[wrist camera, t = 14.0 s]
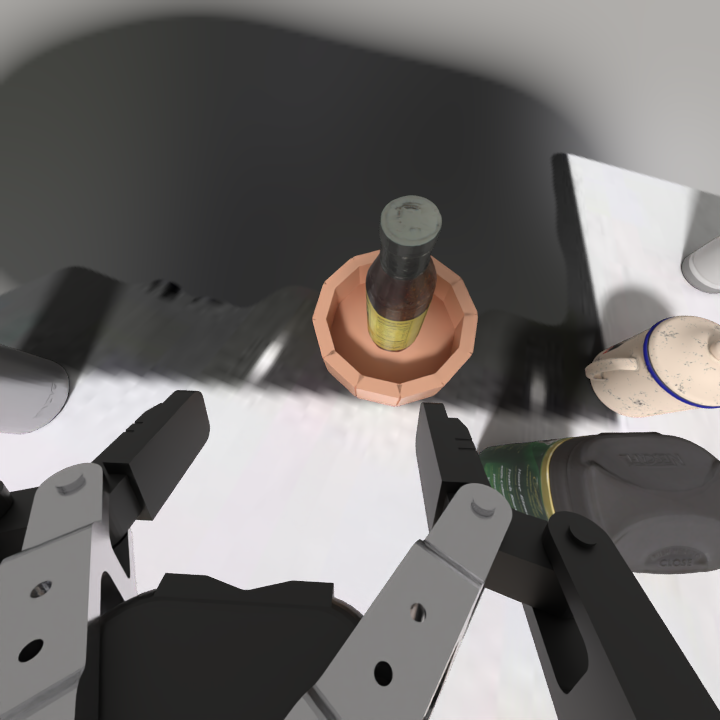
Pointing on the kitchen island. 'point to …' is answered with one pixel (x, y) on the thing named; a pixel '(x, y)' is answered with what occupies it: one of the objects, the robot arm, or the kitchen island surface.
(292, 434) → the kitchen island surface
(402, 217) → the sauce bottle
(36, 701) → the robot arm
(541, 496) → the coffee jar
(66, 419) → the kitchen island surface
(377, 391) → the terracotta bowl
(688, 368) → the teacup with lid
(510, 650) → the kitchen island surface
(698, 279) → the travel mug
